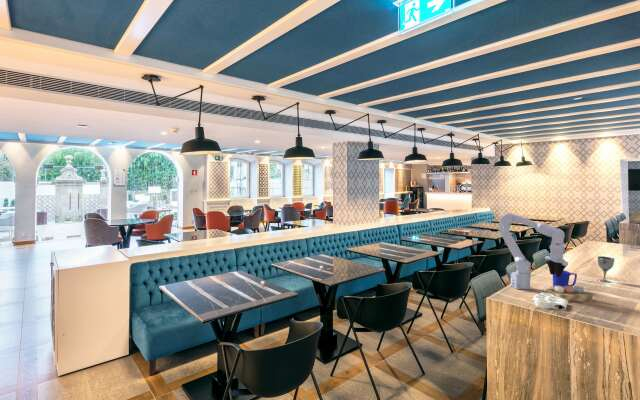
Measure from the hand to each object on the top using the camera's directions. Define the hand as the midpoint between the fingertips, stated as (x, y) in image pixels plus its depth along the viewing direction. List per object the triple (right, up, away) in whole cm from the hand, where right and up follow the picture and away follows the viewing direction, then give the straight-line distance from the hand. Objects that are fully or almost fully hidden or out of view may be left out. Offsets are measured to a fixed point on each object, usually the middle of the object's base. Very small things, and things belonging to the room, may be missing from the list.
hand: (555, 275), depth 180 cm
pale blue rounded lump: (+8, -8, -7) cm, 13 cm away
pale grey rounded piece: (-3, -8, -7) cm, 10 cm away
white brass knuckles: (-15, -11, -16) cm, 25 cm away
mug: (+12, -10, +10) cm, 18 cm away
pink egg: (+2, -8, -7) cm, 10 cm away
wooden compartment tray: (+2, -10, -6) cm, 12 cm away
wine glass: (+51, -10, +27) cm, 59 cm away
